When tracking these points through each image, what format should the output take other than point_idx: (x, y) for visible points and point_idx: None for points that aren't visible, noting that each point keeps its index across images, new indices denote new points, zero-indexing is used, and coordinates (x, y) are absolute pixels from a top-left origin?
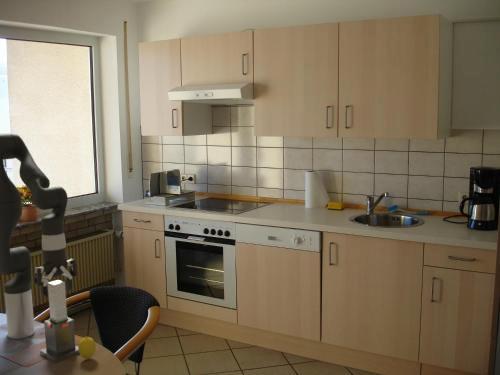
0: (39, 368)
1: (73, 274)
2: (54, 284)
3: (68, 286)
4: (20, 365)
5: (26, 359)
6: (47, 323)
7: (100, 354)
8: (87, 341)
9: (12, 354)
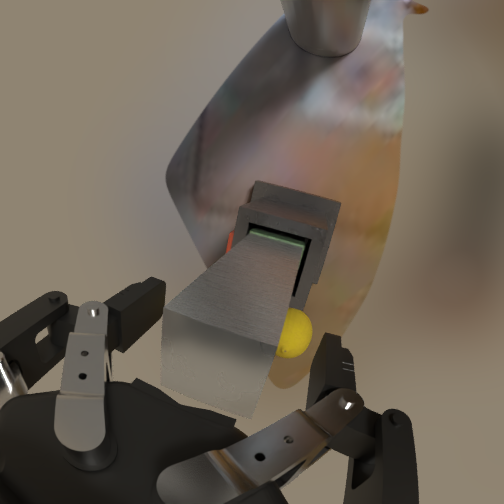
0: (204, 243)
1: (351, 457)
2: (171, 382)
3: (311, 376)
4: (192, 187)
5: (220, 171)
6: (231, 236)
7: (326, 326)
8: (277, 354)
9: (223, 112)
